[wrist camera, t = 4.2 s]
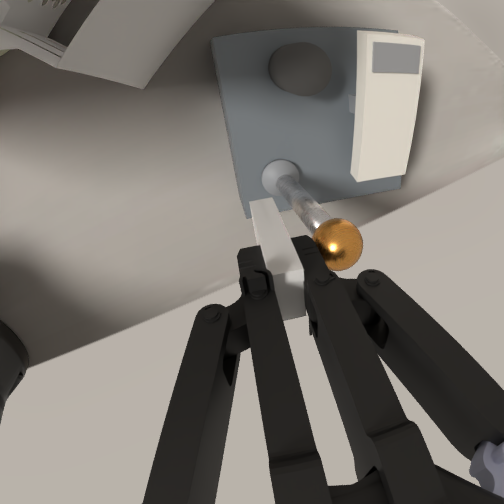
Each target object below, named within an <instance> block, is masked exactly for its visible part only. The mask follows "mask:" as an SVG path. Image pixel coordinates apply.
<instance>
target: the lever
mask: <svg viewBox="0 0 504 504" xmlns="http://www.w3.org/2000/svg"><path fill="white" fill-rule="evenodd" d="M276 187H277V189H278V191H279V192H280V193H281V195H282V196H283V197H284V198H285V200H286V201H287V202H288V203H289V205H290V206H291V207H292V209H293V210H294V211H295V213H296V214H297V215H298V216H299V218H300V219H301V220H302V222H303V223H304V224H305V226H306V227H307V228H308V230H309V231H310V232H311V234H312V235H313V237H312V239H313V240H314V242H315V244H316V246H317V247H318V249H319V252H320V253H321V255H322V257H323V259H324V261H325V263H326V265H327V267H328V268H329V270H332V271H342V270H345V269H348V268H350V267H351V266H353V265H354V264H355V263H356V262H357V261H358V259H359V258H360V256H361V253H362V249H363V240H362V236H361V234H360V232H359V230H358V229H357V227H356V226H355V225H354V224H352V223H351V222H349V221H347V220H344V219H339V218H334V219H332V218H331V217H330V216H329V214H328V213H327V212H326V211H325V210H324V209H323V208H322V207H321V206H320V205H319V204H318V203H317V202H316V201H315V200H314V199H313V197H312V196H311V195H310V194H309V193H308V192H307V191H306V190H305V189H304V188H303V187H302V186H301V185H300V184H299V183H298V182H297V181H296V180H295V179H294V178H293V177H292V176H290V175H287V174H284V175H281V176H280V177H279V178H278V179H277V181H276Z"/></svg>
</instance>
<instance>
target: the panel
mask: <svg viewBox="0 0 504 504" xmlns="http://www.w3.org/2000/svg"><path fill="white" fill-rule="evenodd" d="M357 30H360V31H377V32H389V33H398V31H396V30H386V29H373V28H356V27H304V28H286V29H273V30H262V31H254V32H246V33H238V34H231V35H225V36H219V37H213V38H212V40H211V41H210V44H211V49H212V55H213V60H214V65H215V70H216V76H217V81H218V86H219V91H220V97H221V102H222V107H223V112H224V118H225V123H226V128H227V133H228V139H229V144H230V149H231V154H232V160H233V165H234V170H235V175H236V180H237V186H238V191H239V196H240V200H241V203H242V206H243V209H244V212H245V215H246V218H247V219H249V218H252V215H251V209H250V203H249V202H250V201H255V200H260V199H266V198H271V197H272V198H273V200H274V202H275V204H276V207H277V209H278V211H279V212H281V211H286V210H291V209H292V207H291V206H290V205H289V203H288V202H287V201H286V200H285V198H284V197H283V196H282V195H281V193H280V192H279V191H278V189H277V187H276V181H277V179H278V178H279V177H280V176H281V175H284V174H287V175H290V176H292V177H293V178H294V179H295V180H296V181H297V182H298V183H299V184H300V185H301V186H302V187H303V188H304V189H305V190H306V191H307V192H308V193H309V194H310V195H311V196H312V197H313V199H314V200H315V201H316V202H317V203H318V204H321V203H326V202H331V201H336V200H341V199H346V198H351V197H357V196H362V195H367V194H373V193H378V192H384V191H389V190H395V189H400V188H401V175H398V176H392V177H385V178H379V179H373V180H367V181H361V182H357V181H356V180H355V179H354V177H353V176H352V175H351V173H350V172H351V161H352V150H353V137H354V122H355V105H356V80H357ZM299 42H307V43H311V44H314V45H316V46H318V47H320V48H321V49H322V50H323V51H324V52H325V53H326V54H327V56H328V57H329V59H330V62H331V66H332V75H331V79H330V81H329V83H328V85H327V86H326V87H325V88H324V89H323V90H322V91H321V92H319V93H317V94H315V95H312V96H298V95H295V94H292V93H289V92H286V91H284V90H282V89H280V88H278V87H277V86H276V85H275V84H274V83H273V81H272V80H271V78H270V75H269V71H268V64H269V60H270V58H271V56H272V54H273V53H274V52H275V51H276V50H277V49H278V48H280V47H281V46H284V45H287V44H293V43H299Z"/></svg>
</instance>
